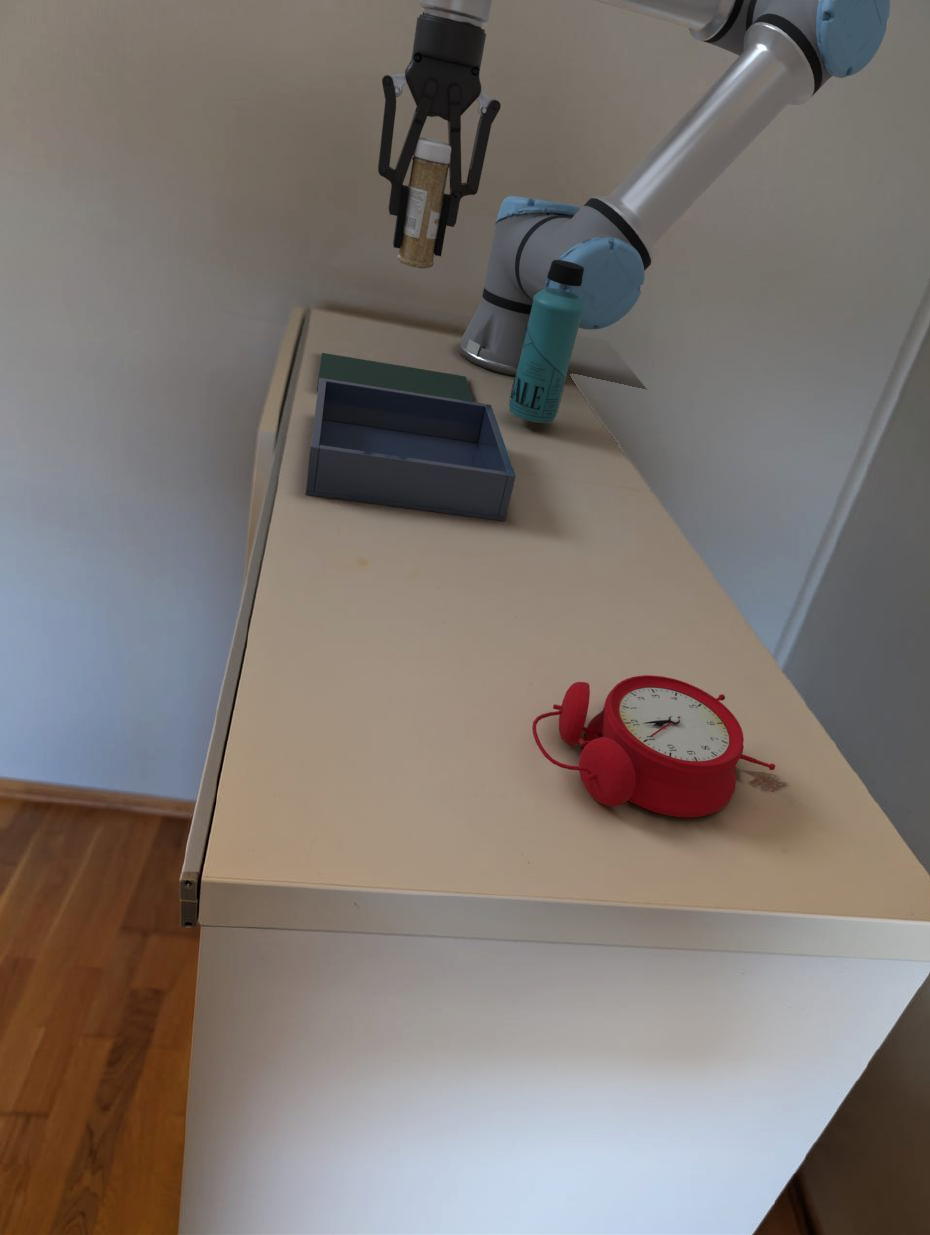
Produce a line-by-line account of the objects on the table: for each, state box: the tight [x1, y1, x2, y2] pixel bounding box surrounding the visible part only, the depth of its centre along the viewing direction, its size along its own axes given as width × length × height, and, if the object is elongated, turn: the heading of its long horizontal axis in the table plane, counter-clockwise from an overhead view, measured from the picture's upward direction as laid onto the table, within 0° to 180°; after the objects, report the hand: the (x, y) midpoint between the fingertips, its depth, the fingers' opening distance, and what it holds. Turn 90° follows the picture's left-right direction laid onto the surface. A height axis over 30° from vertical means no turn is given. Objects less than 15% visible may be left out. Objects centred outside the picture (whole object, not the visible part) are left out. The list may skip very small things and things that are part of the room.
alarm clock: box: [531, 674, 776, 818], centre depth 57 cm, size 10×6×15 cm
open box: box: [305, 377, 517, 522], centre depth 90 cm, size 20×20×5 cm
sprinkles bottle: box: [396, 137, 451, 269], centre depth 101 cm, size 5×5×13 cm
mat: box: [316, 352, 474, 402], centre depth 113 cm, size 20×14×1 cm
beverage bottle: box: [507, 260, 584, 424], centre depth 105 cm, size 6×7×20 cm
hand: (416, 249), depth 104 cm, fingers closed on sprinkles bottle, 4 cm apart
